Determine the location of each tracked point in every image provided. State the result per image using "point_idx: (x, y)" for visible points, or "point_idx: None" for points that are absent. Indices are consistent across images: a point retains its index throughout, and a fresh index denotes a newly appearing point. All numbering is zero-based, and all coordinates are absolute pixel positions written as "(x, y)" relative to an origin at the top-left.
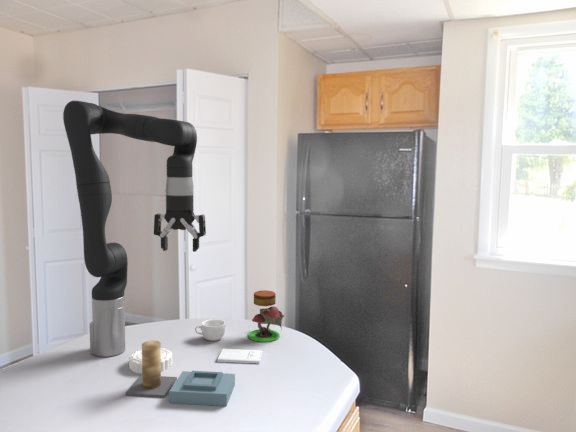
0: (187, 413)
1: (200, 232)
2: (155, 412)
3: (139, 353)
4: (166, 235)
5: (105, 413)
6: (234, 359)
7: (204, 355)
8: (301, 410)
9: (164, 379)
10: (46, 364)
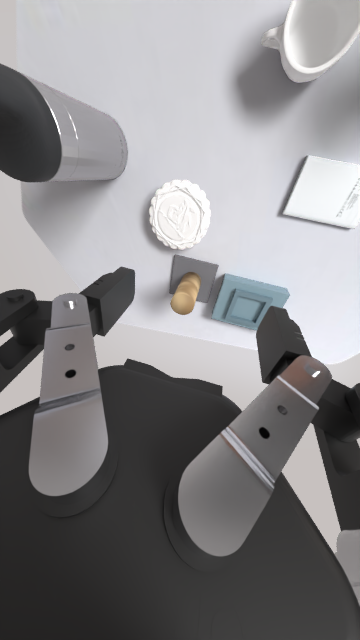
0: (228, 329)
1: (324, 442)
2: (201, 322)
3: (160, 214)
4: (91, 312)
5: (162, 316)
6: (312, 218)
7: (265, 179)
8: (336, 344)
9: (204, 270)
10: (52, 202)
